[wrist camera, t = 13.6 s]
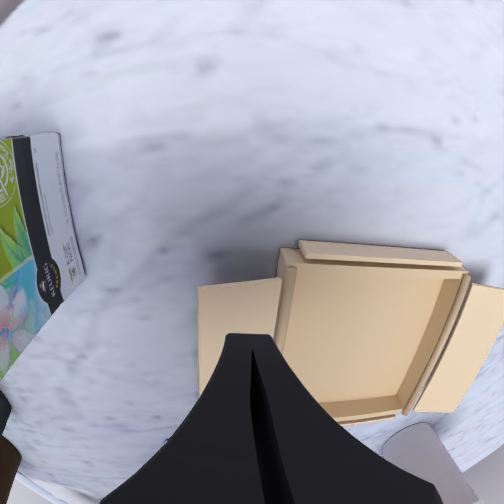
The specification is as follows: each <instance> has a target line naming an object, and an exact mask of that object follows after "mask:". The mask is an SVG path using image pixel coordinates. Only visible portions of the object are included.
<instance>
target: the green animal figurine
mask: <svg viewBox="0 0 504 504" xmlns="http://www.w3.org/2000/svg"><path fill="white" fill-rule="evenodd" d="M11 409H12V406H11V405H10V403H9V402H8V400H7V398H6V397H5V396H4V394H3V393H2V392H1V391H0V437H1V435H2V433H3V431H4V428H5V426H6V423H7V420H8V418H9V415H10V412H11Z"/></svg>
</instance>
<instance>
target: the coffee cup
mask: <svg viewBox="0 0 504 504" xmlns="http://www.w3.org/2000/svg"><path fill="white" fill-rule="evenodd" d="M382 453H383V457H384V459H386V460H387V461H389V462H391V463H392V464H394V465H396V466H397V467H399V468H401V469H403V470H405V471H407V472H409V473H411V474H413V475H415V476H417V477H419V478H421V479H423V480H426V481H428V482H430V483H432V484H434V485H435V487H436V489H437V491H438V493H439V495H440V496H441V499H442V501H443V504H485V500H484V499H481V500H479V498H478V497H477V495H476V494H475V493H474V491H473V489H472V488H471V486H470V485H469V483H468V482H467V480H466V478H465V477H464V475H463V474H462V472H461V471H460V469H459V468H458V466H457V465H456V463H455V462H454V460H453V459H452V457H451V456H450V454H449V453H448V451H447V450H446V448H445V447H444V445H443V444H442V442H441V441H440V439H439V438H438V436H437V435H436V433H435V432H434V430H433V429H432V427H431V426H430V425H429V424H428V423H418V424H414V425H411V426H409V427H406V428H404V429H403V430H401V431H399V432H397V433H396V434H394V435H393V436H392V437H391V438H389V439H388V440H387V441H386V443H385V444H384V445H383V447H382Z"/></svg>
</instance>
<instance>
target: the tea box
mask: <svg viewBox="0 0 504 504" xmlns="http://www.w3.org/2000/svg"><path fill="white" fill-rule="evenodd" d="M84 278H85V274H84V270H83V265H82V261H81V258H80V254H79V250H78V246H77V242H76V237H75V232H74V228H73V223H72V217H71V212H70V206H69V201H68V196H67V190H66V183H65V178H64V170H63V161H62V155H61V146H60V136H59V134H57V133H55V132H50V133H36V134H28V135H20V136H10V137H2V138H0V381H1V380H2V378H3V377H4V375H5V374H6V373H7V371H8V370H9V368H10V367H11V366H12V364H13V363H14V362H15V361H16V359H17V358H18V357H19V356H20V354H21V353H22V352H23V350H24V349H25V348H26V347H27V345H28V344H29V343H30V342H31V340H32V339H33V338H34V337H35V336H36V334H37V333H38V332H39V331H40V329H41V328H42V327H43V325H44V324H45V323H46V322H47V321H48V320H49V318H50V317H51V316H52V314H53V313H54V312H55V311H56V309H57V308H58V307H59V306H60V304H61V303H63V302H64V301H65V300H66V299H67V297H68V296H69V295H70V294H71V293H72V292H73V291H74V290H75V288H76V287H77V286H78V285H79V284H80V283H81V282H82V281H83V279H84Z"/></svg>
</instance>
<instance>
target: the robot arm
mask: <svg viewBox="0 0 504 504" xmlns="http://www.w3.org/2000/svg"><path fill="white" fill-rule="evenodd" d="M99 504H443V501H442V499H441V496H440V495H439V493H438V491H437V489H436V487H435V485H434V484H432V483H430V482H428V481H426V480H423V479H421V478H419V477H417V476H415V475H413V474H411V473H409V472H407V471H405V470H403V469H401V468H399V467H397V466H396V465H394V464H392V463H391V462H389V461H387V460H386V459H384V458H382V457H381V456H379V455H378V454H376V453H375V452H374V451H372V450H371V449H369V448H368V447H367V446H365V445H364V444H363V443H361V442H360V441H359V440H357V439H356V438H355V437H353V436H352V435H351V434H350V433H349V432H347V431H346V430H345V429H344V428H343V427H342V426H341V425H340V424H338V423H337V422H336V421H335V420H334V419H333V418H332V417H331V416H330V415H329V414H328V413H327V412H326V411H325V410H324V409H323V408H322V406H321V405H320V404H319V403H318V402H317V401H316V400H315V399H314V397H313V396H312V395H311V394H310V393H309V392H308V390H307V389H306V388H305V387H304V385H303V384H302V383H301V381H300V380H299V379H298V377H297V376H296V374H295V373H294V372H293V370H292V369H291V368H290V366H289V365H288V363H287V362H286V360H285V358H284V357H283V355H282V354H281V352H280V350H279V349H278V347H277V345H276V344H275V342H274V340H273V338H272V337H271V336H270V335H269V334H244V333H228V334H227V335H226V336H225V342H224V346H223V350H222V353H221V355H220V358H219V360H218V363H217V365H216V367H215V369H214V371H213V374H212V376H211V378H210V380H209V382H208V383H207V385H206V387H205V389H204V390H203V392H202V394H201V396H200V397H199V399H198V401H197V402H196V404H195V405H194V407H193V408H192V410H191V411H190V413H189V414H188V416H187V417H186V418H185V420H184V421H183V422H182V424H181V425H180V426H179V428H178V429H177V430H176V431H175V432H174V434H173V435H172V436H171V437H170V439H169V440H166V441H165V442H164V445H163V446H162V448H161V449H160V450H159V451H158V452H157V453H156V454H155V455H154V456H153V457H152V458H151V459H150V460H149V461H148V462H147V463H146V464H145V465H143V466H142V467H141V468H140V469H139V470H138V471H137V472H136V473H135V474H134V475H133V476H131V477H130V478H129V479H128V480H127V481H125V482H124V483H123V484H121V485H120V486H119V487H118V488H116V489H115V490H114V491H112V492H111V493H110V494H108V495H107V496H106V497H104V498H103V499H102V500H101V502H100V503H99Z"/></svg>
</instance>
